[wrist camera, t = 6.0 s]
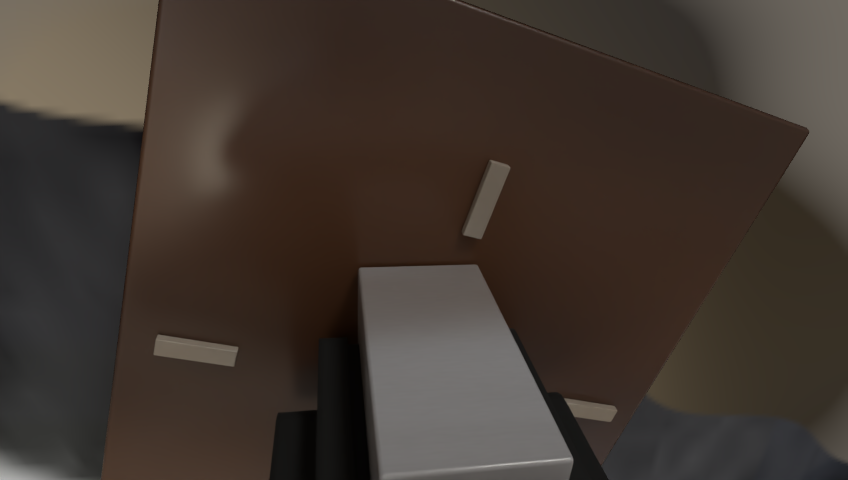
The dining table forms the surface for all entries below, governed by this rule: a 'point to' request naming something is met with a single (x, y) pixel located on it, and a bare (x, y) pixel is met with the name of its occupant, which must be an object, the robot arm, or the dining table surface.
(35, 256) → the dining table surface
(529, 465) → the dial
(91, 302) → the dining table surface
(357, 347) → the robot arm
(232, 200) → the dial panel
